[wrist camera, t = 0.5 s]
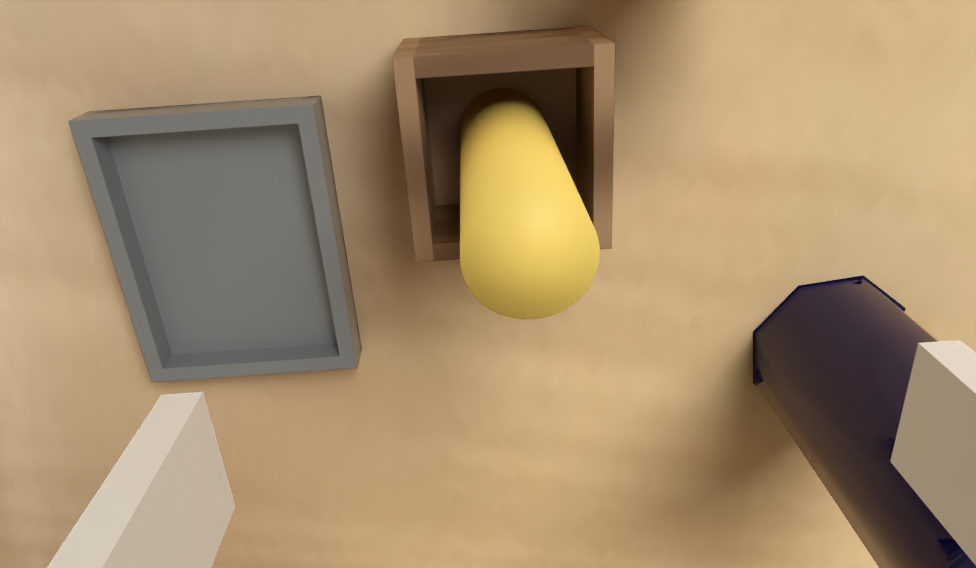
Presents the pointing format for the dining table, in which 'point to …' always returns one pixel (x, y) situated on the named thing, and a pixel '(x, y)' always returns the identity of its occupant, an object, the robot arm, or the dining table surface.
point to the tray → (224, 235)
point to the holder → (494, 64)
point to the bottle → (853, 410)
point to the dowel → (520, 211)
